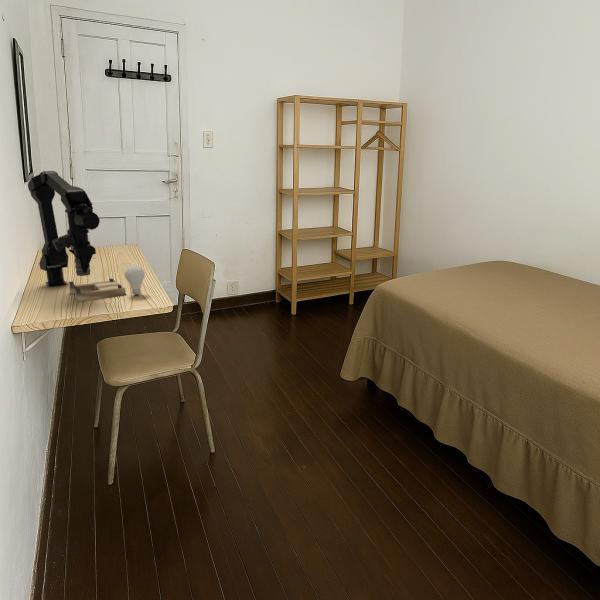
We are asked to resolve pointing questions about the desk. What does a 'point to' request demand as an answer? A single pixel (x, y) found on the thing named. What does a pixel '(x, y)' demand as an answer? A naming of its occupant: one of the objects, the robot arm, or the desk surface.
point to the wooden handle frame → (97, 290)
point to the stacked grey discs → (79, 269)
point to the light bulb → (135, 278)
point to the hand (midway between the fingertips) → (83, 271)
